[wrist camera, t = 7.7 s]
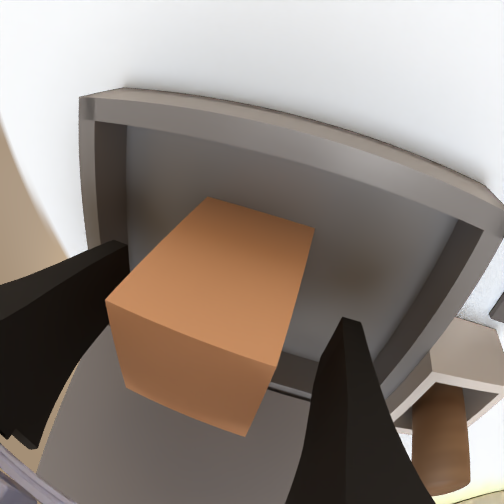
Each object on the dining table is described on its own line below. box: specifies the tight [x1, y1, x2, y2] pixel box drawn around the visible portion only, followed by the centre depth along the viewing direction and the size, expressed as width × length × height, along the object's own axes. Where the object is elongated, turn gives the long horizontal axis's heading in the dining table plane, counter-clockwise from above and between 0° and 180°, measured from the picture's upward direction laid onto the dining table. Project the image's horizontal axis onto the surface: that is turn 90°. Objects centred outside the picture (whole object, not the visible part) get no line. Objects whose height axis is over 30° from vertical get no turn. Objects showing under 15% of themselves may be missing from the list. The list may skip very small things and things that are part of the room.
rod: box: [412, 382, 470, 496], centre depth 10 cm, size 2×2×7 cm
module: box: [105, 197, 315, 437], centre depth 10 cm, size 4×4×6 cm
